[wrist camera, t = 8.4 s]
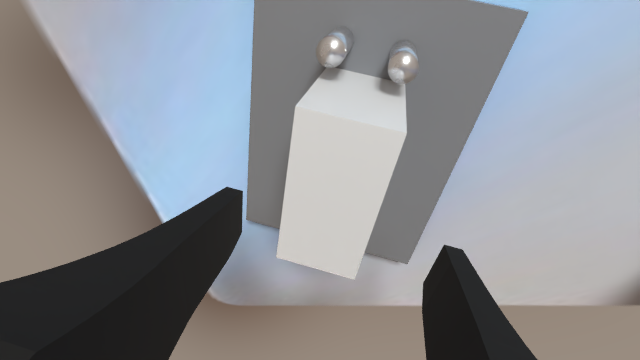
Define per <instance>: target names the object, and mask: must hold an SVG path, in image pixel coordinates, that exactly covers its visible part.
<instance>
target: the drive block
mask: <svg viewBox="0 0 640 360" xmlns="http://www.w3.org/2000/svg"><path fill="white" fill-rule="evenodd" d="M406 134H407V123H406V94H405V84H398V83H395V82H394V81H391V80H387V79H382V78H378V77H373V76H369V75H365V74H360V73H356V72H352V71H347V70H343V69H339V68H328V67H326V69H325V70H324V71H323V72H322V74H321V75H320V76H319V77H318V79H317V80H316V81H315V82H314V84H313V85H312V86H311V87H310V89H309V90H308V91H307V92H306V94H305V95H304V96H303V97H302V99H301V100H300V101H299V102H298V103H297V105H296V106H295V113H294V121H293V129H292V137H291V144H290V152H289V160H288V168H287V176H286V184H285V192H284V200H283V208H282V216H281V224H280V232H279V240H278V248H277V256H276V257H277V258H280V259H284V260H287V261H291V262H294V263H298V264H301V265H305V266H308V267H312V268H315V269H319V270H322V271H325V272H329V273H332V274H336V275H339V276H343V277H346V278H350V279H353V280H355V277H356V274H357V272H358V269H359V266H360V263H361V260H362V258H363V255H364V252H365V249H366V246H367V244H368V241H369V238H370V235H371V232H372V230H373V227H374V224H375V221H376V218H377V216H378V213H379V210H380V207H381V204H382V202H383V199H384V196H385V193H386V190H387V188H388V185H389V182H390V179H391V176H392V174H393V171H394V168H395V165H396V162H397V160H398V157H399V154H400V151H401V148H402V146H403V143H404V140H405V137H406Z"/></svg>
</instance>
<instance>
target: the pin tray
mask: <svg viewBox="0 0 640 360" xmlns="http://www.w3.org/2000/svg"><path fill="white" fill-rule="evenodd" d="M527 14H528V12H526V11H523V10H519V9H514V8H509V7H504V6H499V5H494V4H489V3H484V2H479V1H474V0H254V27H253V54H252V81H251V108H250V135H249V162H248V189H247V216H246V220H249V221H252V222H256V223H260V224H263V225H267V226H271V227H274V228H278V229H280V224H281V216H282V208H283V200H284V192H285V184H286V176H287V168H288V160H289V152H290V144H291V137H292V129H293V121H294V113H295V106H296V105H297V103H298V102H299V101H300V100H301V99H302V97H303V96H304V95H305V94H306V92H307V91H308V90H309V89H310V87H311V86H312V85H313V84H314V82H315V81H316V80H317V79H318V77H319V76H320V75H321V74H322V72H323V71H324V70H325V69H326V67H328V68H339V69H343V70H347V71H352V72H356V73H360V74H365V75H369V76H373V77H378V78H382V79H387V80H391V81H394V82H395V83H398V84H405V94H406V123H407V134H406V137H405V140H404V143H403V146H402V148H401V151H400V154H399V157H398V160H397V162H396V165H395V168H394V171H393V174H392V176H391V179H390V182H389V185H388V188H387V190H386V193H385V196H384V199H383V202H382V204H381V207H380V210H379V213H378V216H377V218H376V221H375V224H374V227H373V230H372V232H371V235H370V238H369V241H368V244H367V246H366V249H365V253H368V254H372V255H376V256H379V257H383V258H386V259H390V260H394V261H397V262H401V263H405V264H408V262H409V260H410V258H411V256H412V254H413V251H414V249H415V247H416V245H417V243H418V241H419V239H420V237H421V235H422V233H423V231H424V229H425V227H426V224H427V222H428V220H429V218H430V216H431V214H432V212H433V210H434V208H435V206H436V204H437V202H438V199H439V197H440V195H441V193H442V191H443V189H444V187H445V185H446V183H447V181H448V179H449V177H450V175H451V172H452V170H453V168H454V166H455V164H456V162H457V160H458V158H459V156H460V154H461V152H462V150H463V147H464V145H465V143H466V141H467V139H468V137H469V135H470V133H471V131H472V129H473V127H474V125H475V122H476V120H477V118H478V116H479V114H480V112H481V110H482V108H483V106H484V104H485V102H486V100H487V98H488V95H489V93H490V91H491V89H492V87H493V85H494V83H495V81H496V79H497V77H498V75H499V73H500V70H501V68H502V66H503V64H504V62H505V60H506V58H507V56H508V54H509V52H510V50H511V48H512V46H513V43H514V41H515V39H516V37H517V35H518V33H519V31H520V29H521V27H522V25H523V23H524V21H525V18H526V16H527Z"/></svg>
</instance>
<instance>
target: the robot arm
mask: <svg viewBox="0 0 640 360" xmlns="http://www.w3.org/2000/svg"><path fill="white" fill-rule="evenodd" d="M242 199H243V191H240V190H237V189H233V188H229V187H226V188H224V189H222V190H221V191H219V192H217V193H215V194H214V195H212V196H210V197H209V198H207V199H205V200H204V201H202V202H200V203H199V204H197V205H195V206H194V207H192V208H190V209H188V210H187V211H185V212H183V213H182V214H180V215H178V216H176V217H175V218H173V219H171V220H169V221H167V222H165V223H163V224H161V225H159V226H157V227H156V228H153V229H152V230H150V231H148V232H146V233H144V234H141V235H139V236H137V237H135V238H133V239H130V240H128V241H126V242H123V243H121V244H119V245H116V246H114V247H111V248H109V249H106V250H104V251H101V252H98V253H95V254H93V255H90V256H87V257H85V258H82V259H79V260H76V261H73V262H70V263H68V264H64V265H61V266H58V267H55V268H52V269H49V270H45V271H42V272H38V273H35V274H32V275H28V276H24V277H21V278H17V279H13V280H10V281H5V282H1V283H0V360H168V359H169V357H170V355H171V353H172V351H173V349H174V347H175V346H176V344H177V342H178V340H179V338H180V336H181V334H182V332H183V330H184V329H185V327H186V325H187V322H188V321H189V319H190V318H191V316H192V314H193V313H194V311H195V309H196V308H197V306H198V305H199V303H200V302H201V300H202V299H203V297H204V296H205V294H206V293H207V291H208V289H209V288H210V286H211V285H212V283H213V282H214V280H215V279H216V277H217V276H218V274H219V273H220V271H221V270H222V268H223V267H224V265H225V264H226V262H227V260H228V259H229V257H230V256H231V254H232V252H233V250H234V248H235V246H236V244H237V241H238V239H239V237H240V235H241V233H242ZM422 314H423V326H424V338H425V349H426V359H427V360H537V359H536V358H535V356H534V355H533V354H532V352H531V351H530V350H529V348H528V347H527V346H526V345H525V343H524V342H523V341H522V339H521V338H520V337H519V335H518V334H517V333H516V331H515V330H514V328H513V327H512V326H511V324H510V323H509V321H508V320H507V319H506V317H505V316H504V314H503V313H502V311H501V310H500V308H499V307H498V305H497V304H496V302H495V301H494V299H493V298H492V296H491V295H490V293H489V291H488V290H487V288H486V287H485V285H484V283H483V282H482V280H481V279H480V277H479V275H478V274H477V272H476V271H475V269H474V267H473V266H472V264H471V262H470V261H469V259H468V258H467V256H466V254H465V253H464V251H463V250H462V249H458V248H454V247H451V246H447V245H444V246H443V248H442V250H441V252H440V253H439V255H438V257H437V259H436V261H435V263H434V264H433V266H432V268H431V270H430V272H429V274H428V275H427V277H426V279H425V281H424V283H423V303H422Z"/></svg>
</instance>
